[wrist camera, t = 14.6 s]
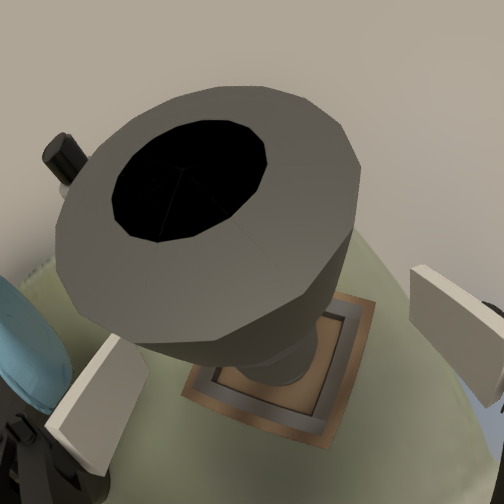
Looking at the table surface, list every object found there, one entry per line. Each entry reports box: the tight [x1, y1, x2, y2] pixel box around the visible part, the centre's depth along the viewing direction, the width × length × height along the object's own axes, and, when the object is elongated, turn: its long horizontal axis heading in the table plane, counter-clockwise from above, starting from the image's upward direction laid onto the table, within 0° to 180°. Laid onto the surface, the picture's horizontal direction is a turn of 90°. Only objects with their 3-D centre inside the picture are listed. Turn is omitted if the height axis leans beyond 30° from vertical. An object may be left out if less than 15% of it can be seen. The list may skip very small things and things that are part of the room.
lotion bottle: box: [42, 132, 91, 199], centre depth 28 cm, size 6×6×20 cm
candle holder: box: [56, 86, 361, 386], centre depth 15 cm, size 6×6×25 cm
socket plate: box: [181, 291, 376, 449], centre depth 26 cm, size 16×16×3 cm
